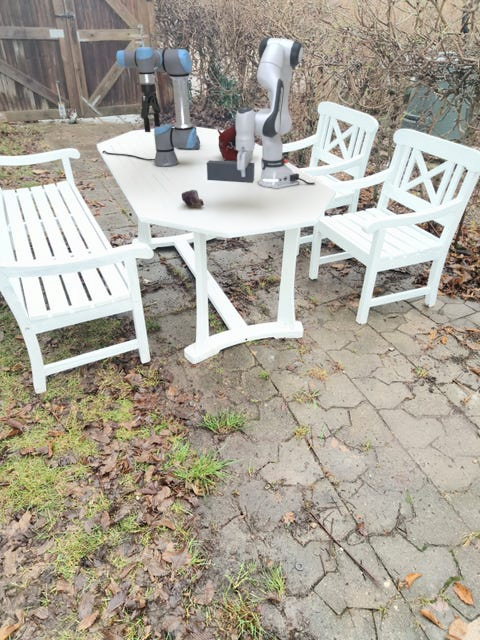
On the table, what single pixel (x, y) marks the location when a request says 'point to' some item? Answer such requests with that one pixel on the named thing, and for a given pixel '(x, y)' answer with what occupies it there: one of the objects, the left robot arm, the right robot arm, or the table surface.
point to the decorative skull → (228, 144)
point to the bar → (229, 172)
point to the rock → (192, 198)
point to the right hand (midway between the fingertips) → (244, 174)
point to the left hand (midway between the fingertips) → (152, 129)
